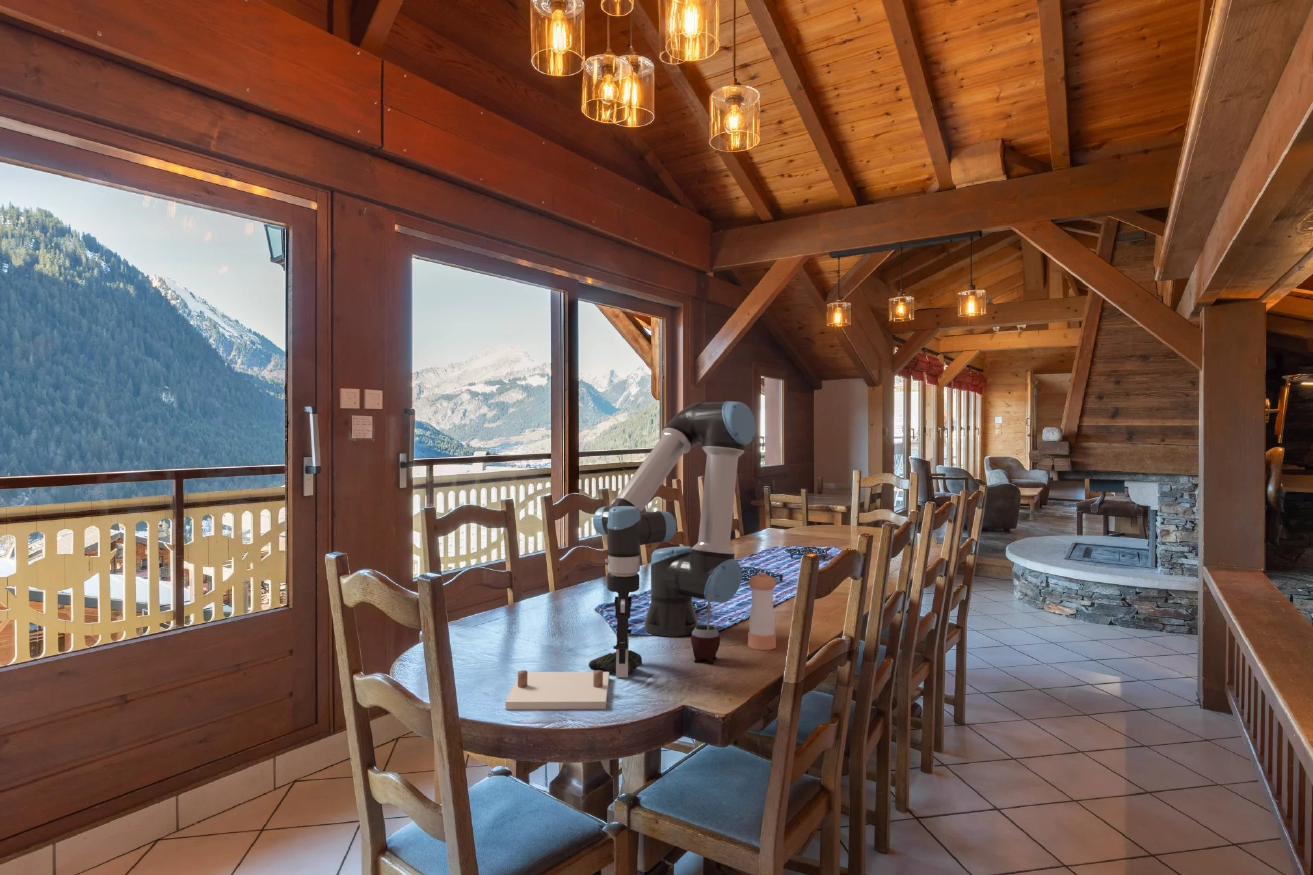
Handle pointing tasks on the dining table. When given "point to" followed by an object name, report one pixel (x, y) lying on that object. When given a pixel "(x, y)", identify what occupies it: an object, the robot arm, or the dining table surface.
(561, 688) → the board
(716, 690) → the dining table surface
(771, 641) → the pepper shaker
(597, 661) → the stone
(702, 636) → the mate gourd
